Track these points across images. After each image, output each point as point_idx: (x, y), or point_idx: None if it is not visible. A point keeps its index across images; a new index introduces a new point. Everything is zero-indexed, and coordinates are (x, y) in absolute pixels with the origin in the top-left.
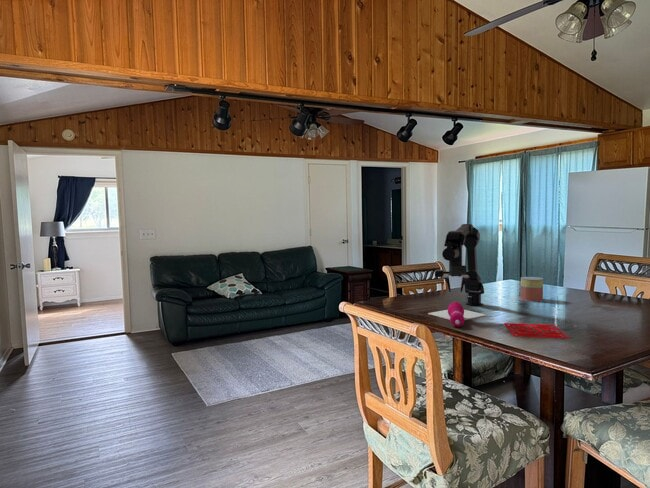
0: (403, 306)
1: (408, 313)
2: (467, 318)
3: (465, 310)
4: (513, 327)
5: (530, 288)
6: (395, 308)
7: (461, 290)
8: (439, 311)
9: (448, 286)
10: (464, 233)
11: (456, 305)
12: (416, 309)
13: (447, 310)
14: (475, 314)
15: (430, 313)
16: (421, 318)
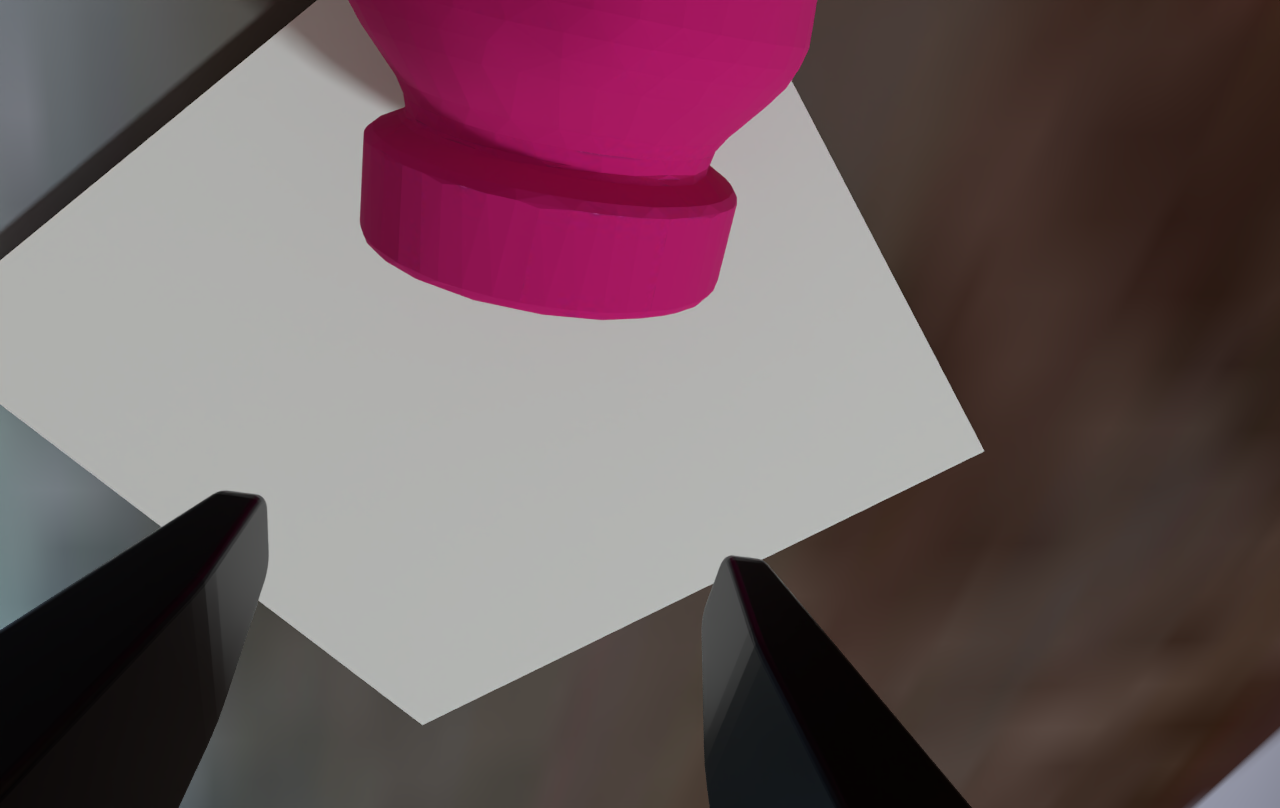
0: (1110, 797)
1: (1267, 479)
2: (308, 11)
3: (307, 609)
4: None
5: None
6: (1273, 718)
7: (193, 535)
8: (745, 552)
9: (910, 757)
10: None
11: None
12: (1018, 680)
13: (598, 606)
14: (131, 362)
15: (945, 434)
16: (1259, 123)
